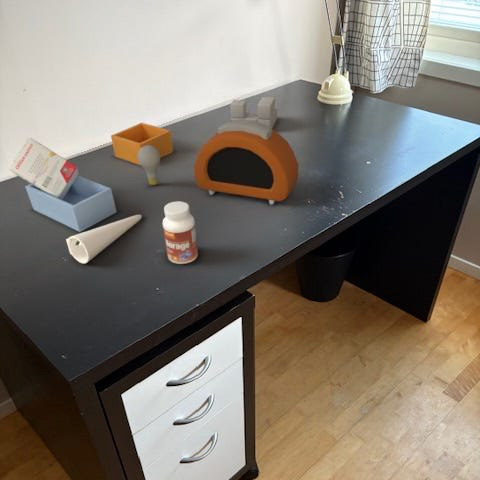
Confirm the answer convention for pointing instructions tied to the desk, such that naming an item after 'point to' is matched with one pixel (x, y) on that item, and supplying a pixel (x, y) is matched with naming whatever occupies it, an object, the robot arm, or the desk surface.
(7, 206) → the desk surface
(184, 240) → the pill bottle
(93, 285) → the desk surface
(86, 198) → the blue bin
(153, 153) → the light bulb
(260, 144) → the alarm clock
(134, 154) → the amber bin
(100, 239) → the long cone
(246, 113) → the gray notched block
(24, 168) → the ink box
